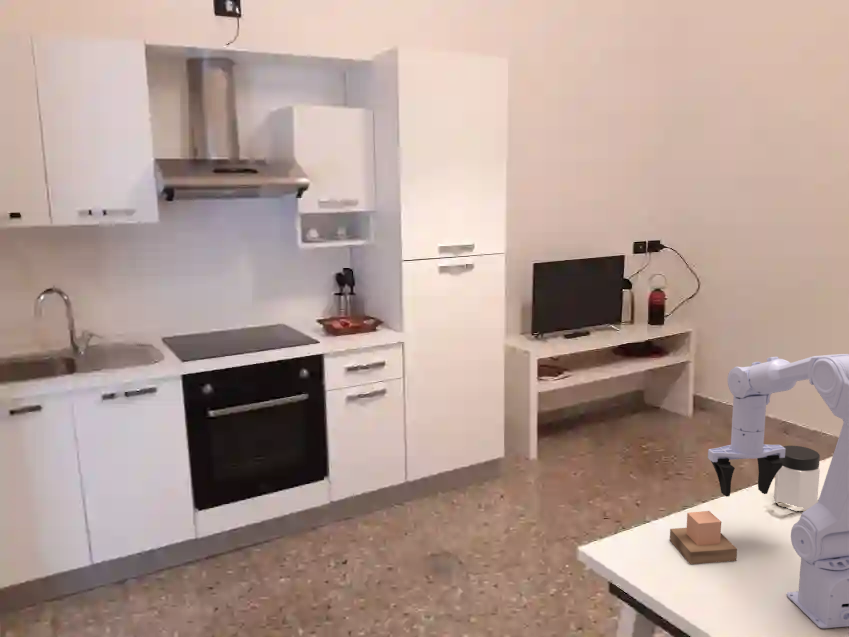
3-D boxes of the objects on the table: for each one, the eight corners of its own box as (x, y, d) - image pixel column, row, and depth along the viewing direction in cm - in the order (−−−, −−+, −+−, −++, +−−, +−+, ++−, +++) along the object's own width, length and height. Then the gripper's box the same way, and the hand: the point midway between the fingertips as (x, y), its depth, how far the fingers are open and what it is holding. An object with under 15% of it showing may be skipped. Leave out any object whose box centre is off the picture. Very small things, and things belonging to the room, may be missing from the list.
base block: (736, 560, 131) (737, 548, 130) (690, 564, 130) (690, 552, 129) (713, 537, 139) (713, 525, 139) (669, 540, 139) (670, 528, 138)
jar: (824, 504, 152) (828, 452, 149) (808, 516, 146) (812, 463, 144) (782, 491, 158) (785, 441, 156) (765, 502, 153) (769, 451, 151)
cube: (720, 543, 132) (721, 521, 131) (697, 545, 132) (698, 523, 131) (708, 531, 137) (709, 510, 136) (686, 533, 136) (687, 512, 135)
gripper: (772, 418, 137) (767, 482, 140) (701, 422, 136) (698, 486, 139) (793, 430, 130) (788, 497, 133) (719, 434, 129) (716, 502, 132)
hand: (744, 493), depth 135 cm, fingers open, 7 cm apart
